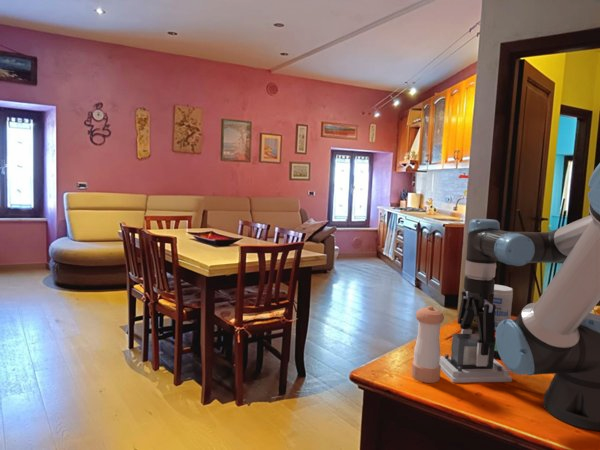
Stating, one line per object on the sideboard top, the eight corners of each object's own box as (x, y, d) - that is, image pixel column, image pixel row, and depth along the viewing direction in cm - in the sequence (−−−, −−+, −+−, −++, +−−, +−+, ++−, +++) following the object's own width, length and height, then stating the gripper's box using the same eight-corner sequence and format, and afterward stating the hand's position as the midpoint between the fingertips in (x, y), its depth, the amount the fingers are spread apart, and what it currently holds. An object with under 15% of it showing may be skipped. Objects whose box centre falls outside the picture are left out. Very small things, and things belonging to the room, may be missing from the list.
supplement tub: (488, 331, 157) (491, 290, 155) (475, 322, 166) (478, 283, 165) (514, 332, 158) (518, 290, 156) (500, 323, 167) (504, 284, 166)
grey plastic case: (492, 371, 122) (495, 339, 121) (457, 371, 121) (459, 339, 120) (485, 365, 126) (487, 333, 125) (450, 365, 125) (453, 333, 124)
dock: (511, 381, 119) (512, 370, 118) (453, 382, 117) (454, 370, 116) (487, 362, 130) (488, 351, 130) (434, 363, 129) (435, 352, 128)
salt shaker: (410, 369, 124) (415, 301, 122) (438, 372, 123) (443, 303, 120) (412, 381, 117) (417, 308, 114) (441, 384, 115) (447, 311, 113)
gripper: (516, 287, 111) (507, 375, 113) (473, 268, 131) (467, 343, 134) (486, 286, 110) (479, 376, 112) (448, 268, 131) (443, 343, 133)
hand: (472, 358), depth 123 cm, fingers open, 8 cm apart
